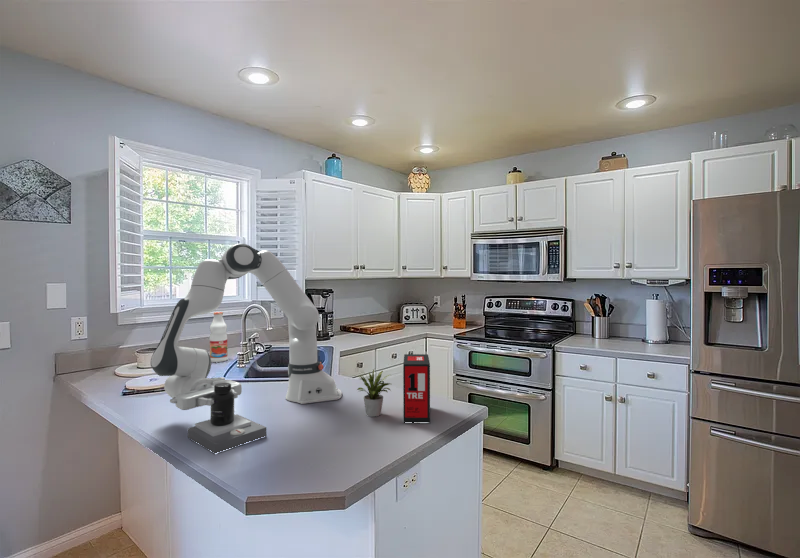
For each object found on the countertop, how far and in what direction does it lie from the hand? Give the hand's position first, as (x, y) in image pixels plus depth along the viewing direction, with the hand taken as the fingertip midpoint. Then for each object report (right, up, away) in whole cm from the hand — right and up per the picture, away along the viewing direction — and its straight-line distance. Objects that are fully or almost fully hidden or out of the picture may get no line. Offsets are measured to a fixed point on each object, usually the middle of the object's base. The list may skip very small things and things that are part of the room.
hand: (224, 399), depth 127 cm
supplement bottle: (-1, -8, +1) cm, 8 cm away
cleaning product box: (+61, -11, +18) cm, 64 cm away
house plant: (+44, -11, +18) cm, 49 cm away
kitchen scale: (+1, -12, -1) cm, 12 cm away
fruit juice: (-50, -10, +109) cm, 120 cm away
